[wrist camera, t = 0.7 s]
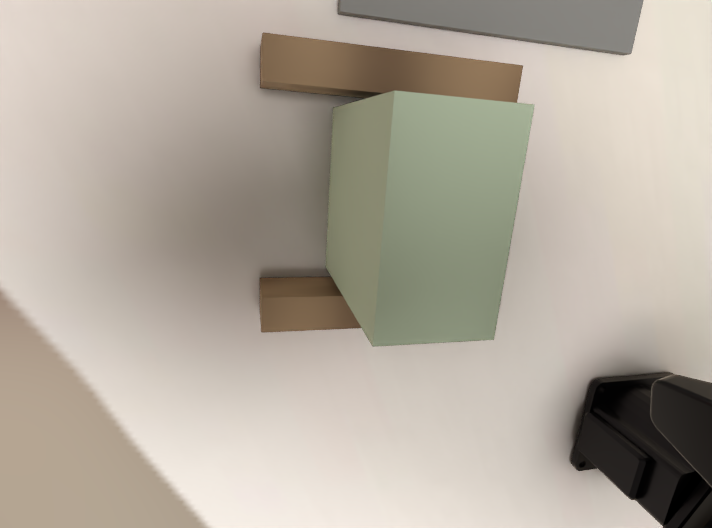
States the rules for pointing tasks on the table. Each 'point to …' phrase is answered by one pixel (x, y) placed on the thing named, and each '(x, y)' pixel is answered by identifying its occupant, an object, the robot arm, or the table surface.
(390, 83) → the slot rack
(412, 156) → the green block
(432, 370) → the table surface
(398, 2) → the floor mat
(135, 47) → the table surface
